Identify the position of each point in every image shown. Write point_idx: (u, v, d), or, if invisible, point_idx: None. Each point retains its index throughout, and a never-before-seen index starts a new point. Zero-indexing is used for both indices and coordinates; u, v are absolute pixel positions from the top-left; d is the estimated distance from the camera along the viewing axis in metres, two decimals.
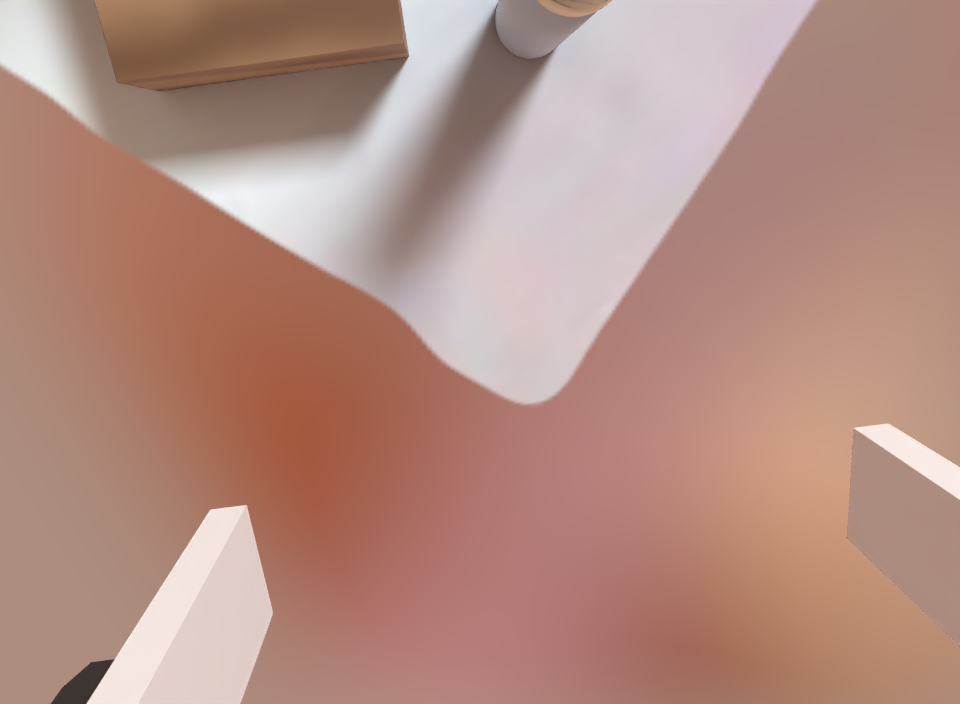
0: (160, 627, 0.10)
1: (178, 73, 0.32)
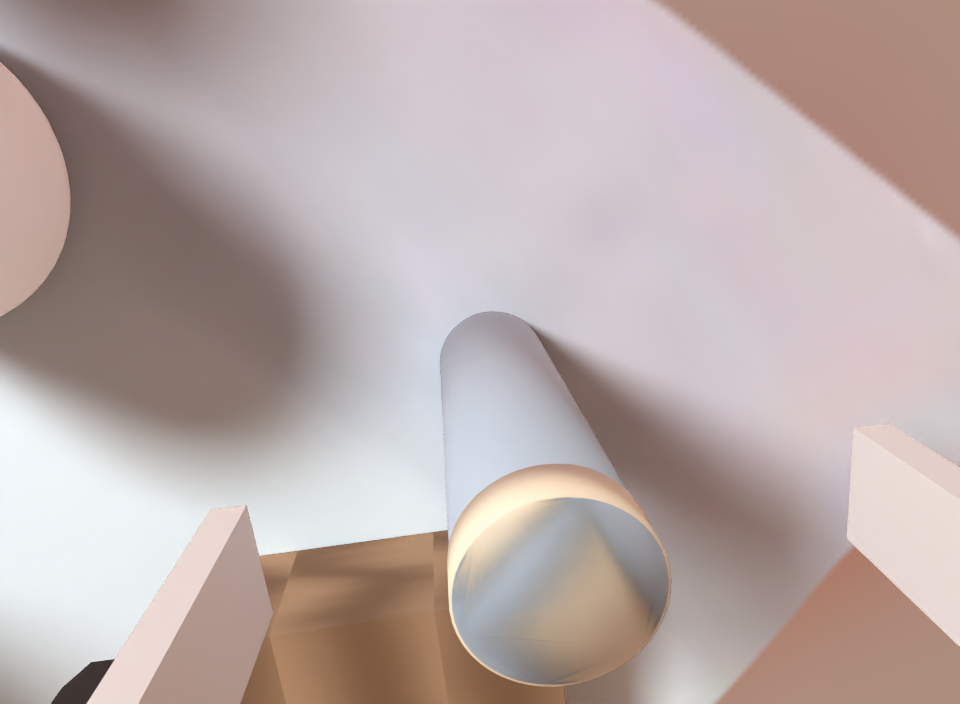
0: (160, 627, 0.10)
1: None
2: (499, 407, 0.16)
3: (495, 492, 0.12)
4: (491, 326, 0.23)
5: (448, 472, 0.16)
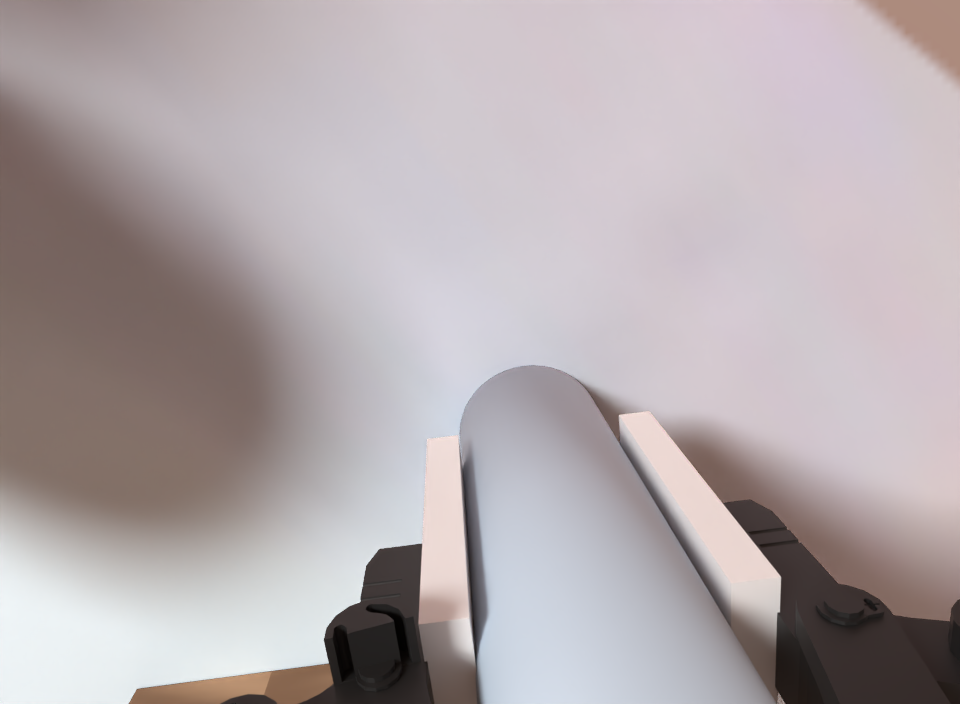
0: (445, 516, 0.12)
1: None
2: (569, 584, 0.09)
3: None
4: (534, 394, 0.16)
5: (483, 702, 0.09)
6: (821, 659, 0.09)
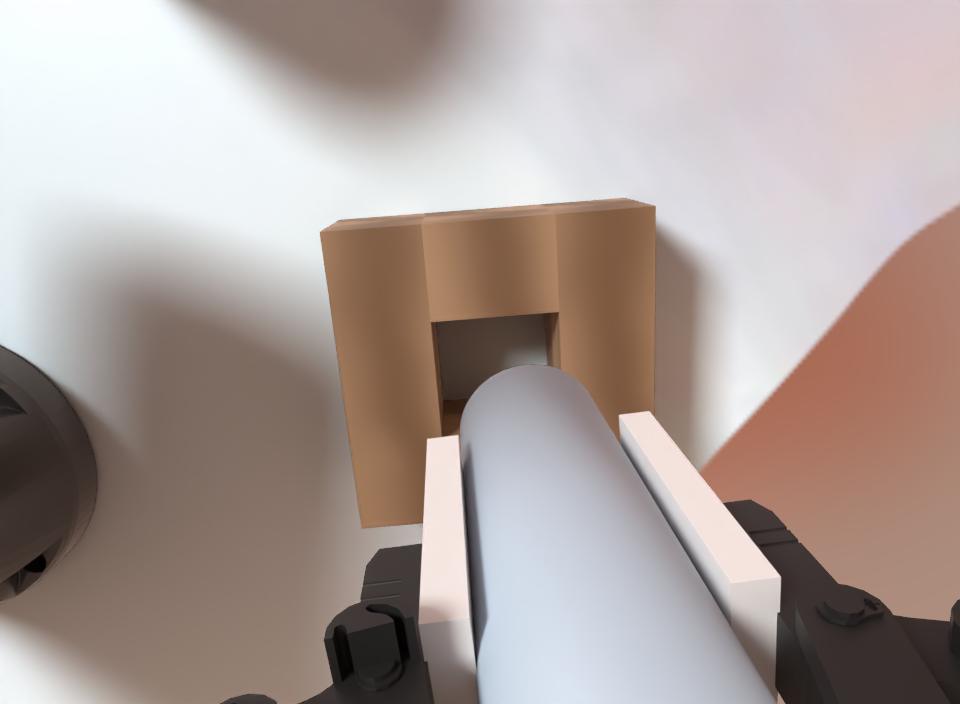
0: (445, 516, 0.12)
1: None
2: (569, 580, 0.09)
3: None
4: (534, 393, 0.16)
5: (483, 696, 0.09)
6: (821, 659, 0.09)
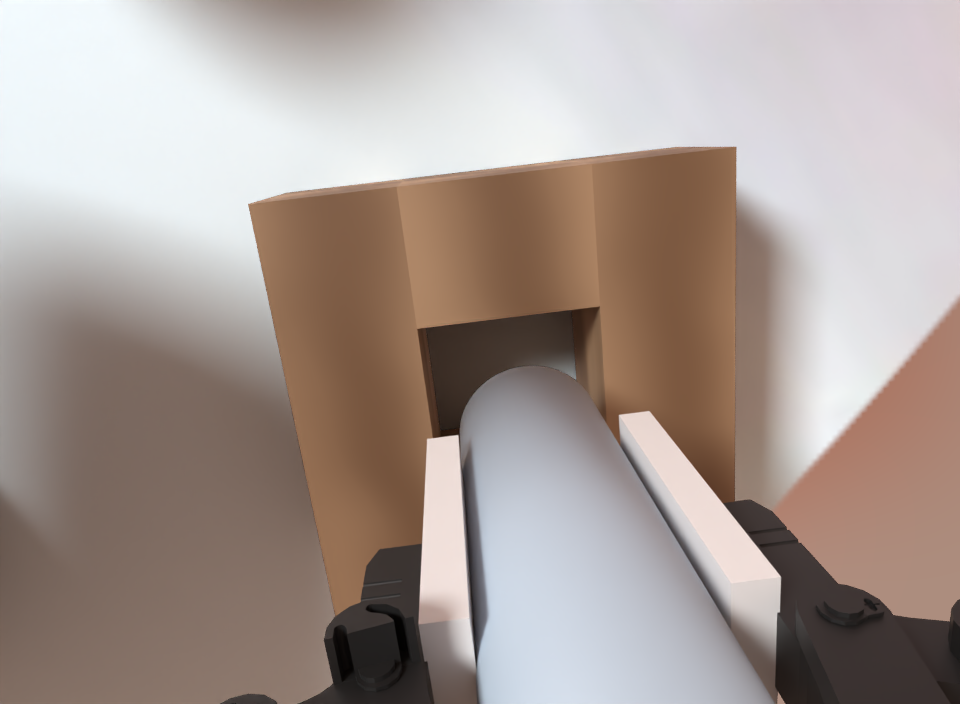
0: (445, 516, 0.12)
1: (733, 487, 0.22)
2: (569, 582, 0.09)
3: None
4: (534, 394, 0.16)
5: (483, 698, 0.09)
6: (821, 659, 0.09)
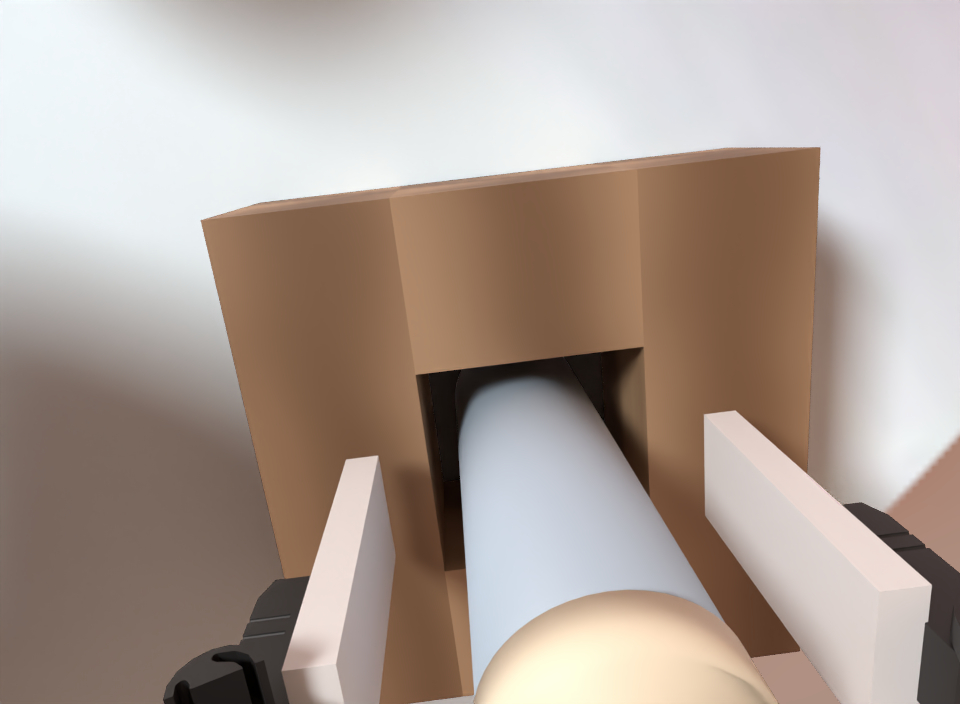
0: (341, 547, 0.12)
1: None
2: (537, 481, 0.12)
3: (543, 633, 0.09)
4: None
5: (470, 568, 0.12)
6: None
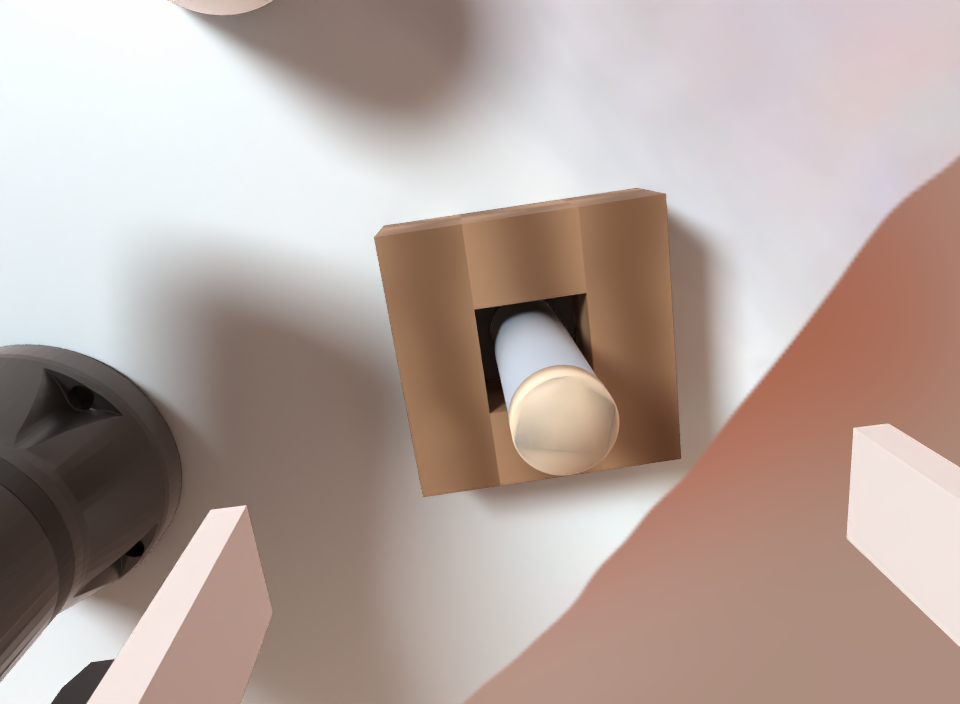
0: (160, 627, 0.10)
1: (677, 407, 0.35)
2: (532, 345, 0.29)
3: (532, 378, 0.25)
4: (524, 304, 0.36)
5: (505, 380, 0.29)
6: None
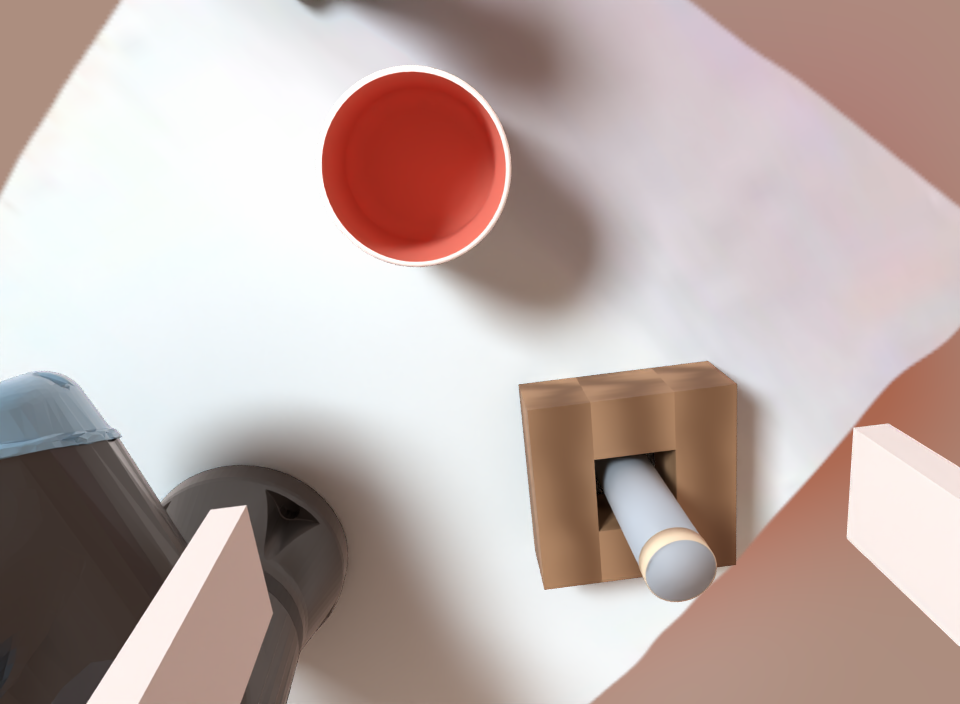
0: (160, 627, 0.10)
1: (735, 528, 0.47)
2: (646, 500, 0.41)
3: (658, 537, 0.37)
4: None
5: (628, 525, 0.41)
6: None
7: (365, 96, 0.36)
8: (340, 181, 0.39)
